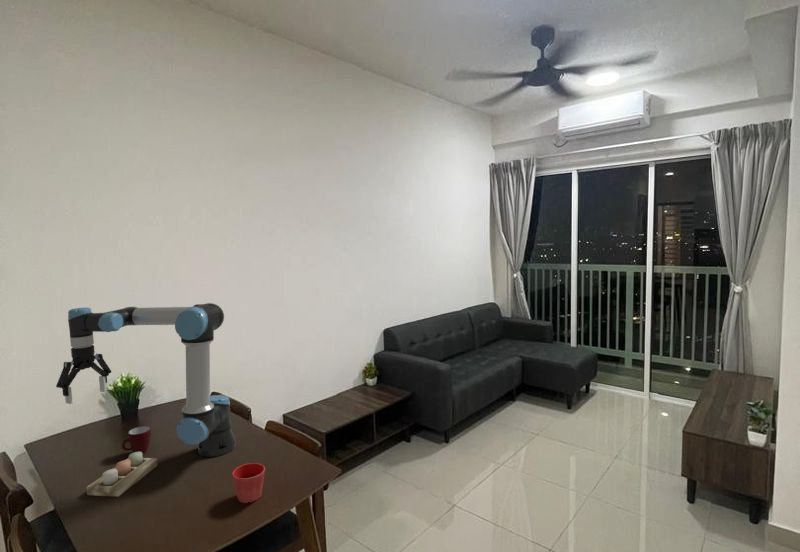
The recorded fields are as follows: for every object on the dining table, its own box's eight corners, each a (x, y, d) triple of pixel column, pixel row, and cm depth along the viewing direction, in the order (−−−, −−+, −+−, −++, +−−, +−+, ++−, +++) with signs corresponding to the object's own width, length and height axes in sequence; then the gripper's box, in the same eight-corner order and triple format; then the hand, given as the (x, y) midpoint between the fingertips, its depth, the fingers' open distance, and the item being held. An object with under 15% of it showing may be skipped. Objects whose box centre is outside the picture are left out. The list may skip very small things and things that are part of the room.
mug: (125, 461, 175) (124, 438, 174) (120, 455, 180) (119, 432, 180) (154, 452, 182) (152, 430, 181) (148, 446, 188) (147, 424, 187)
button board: (157, 465, 171) (156, 458, 171) (118, 496, 151) (117, 488, 150) (129, 464, 173) (129, 457, 172) (87, 495, 152) (86, 487, 151)
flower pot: (254, 484, 157) (253, 459, 156) (271, 495, 150) (270, 469, 149) (227, 498, 149) (226, 471, 148) (244, 510, 142) (243, 482, 141)
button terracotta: (133, 468, 163) (133, 460, 163) (125, 475, 159) (124, 466, 159) (122, 468, 164) (122, 459, 164) (113, 474, 159) (113, 466, 159)
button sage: (145, 460, 170) (144, 451, 170) (137, 466, 165) (136, 457, 165) (134, 459, 170) (134, 451, 170) (126, 465, 166) (125, 457, 165)
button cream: (121, 478, 157) (120, 469, 157) (111, 485, 152) (111, 476, 152) (109, 477, 157) (109, 468, 157) (99, 484, 153) (99, 475, 152)
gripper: (106, 338, 184) (109, 386, 186) (41, 353, 161) (46, 407, 163) (118, 339, 182) (122, 387, 184) (55, 354, 158) (60, 409, 160)
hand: (86, 397), depth 173 cm, fingers open, 13 cm apart
